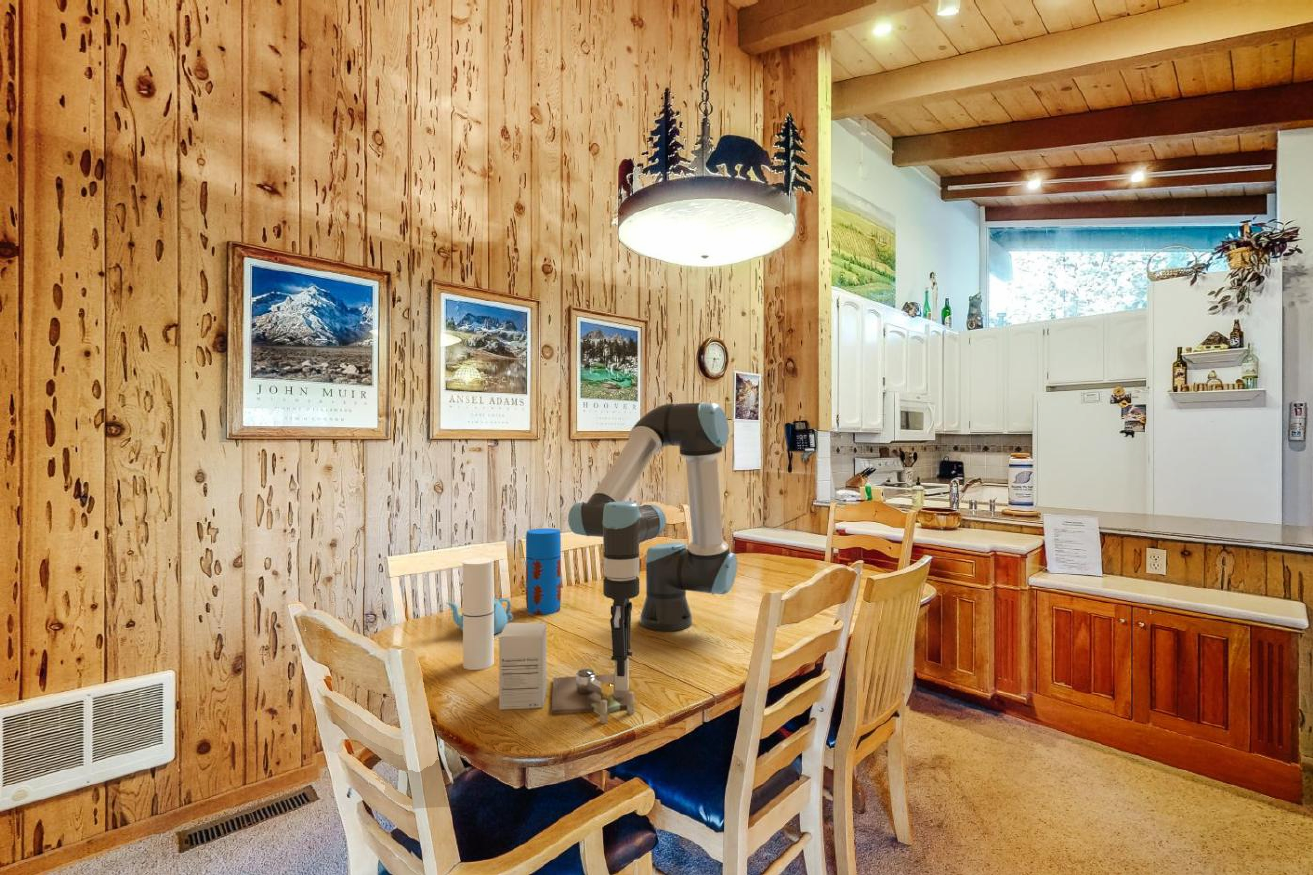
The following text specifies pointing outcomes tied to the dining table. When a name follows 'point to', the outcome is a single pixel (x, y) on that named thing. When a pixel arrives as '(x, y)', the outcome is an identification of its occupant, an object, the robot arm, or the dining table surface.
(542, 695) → the supplement box
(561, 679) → the dial board
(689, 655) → the dining table surface
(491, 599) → the cylindrical container
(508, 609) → the teapot
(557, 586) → the thermos
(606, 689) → the crank handle
